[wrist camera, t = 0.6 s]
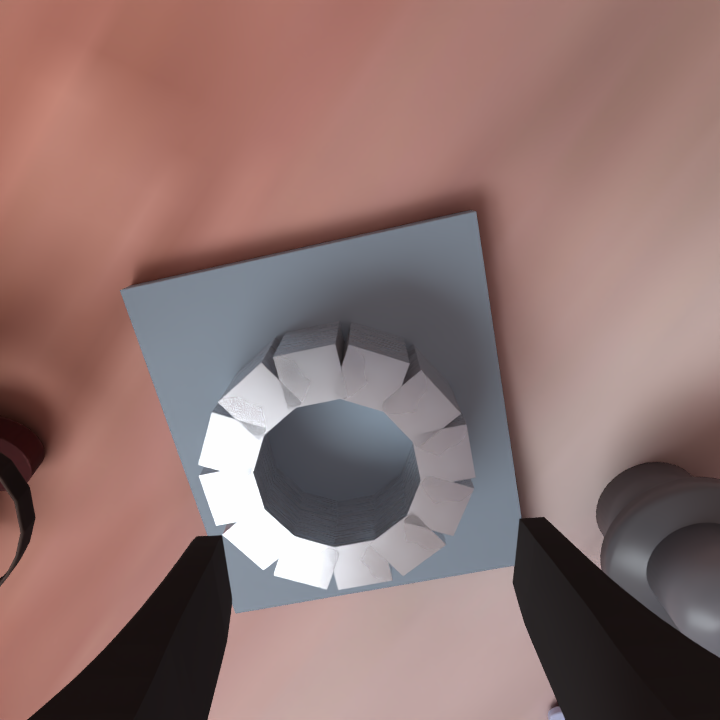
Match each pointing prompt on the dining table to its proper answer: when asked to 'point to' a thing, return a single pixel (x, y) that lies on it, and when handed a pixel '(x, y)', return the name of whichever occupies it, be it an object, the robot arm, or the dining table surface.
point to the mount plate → (339, 417)
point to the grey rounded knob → (666, 545)
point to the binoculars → (19, 476)
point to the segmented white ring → (319, 514)
